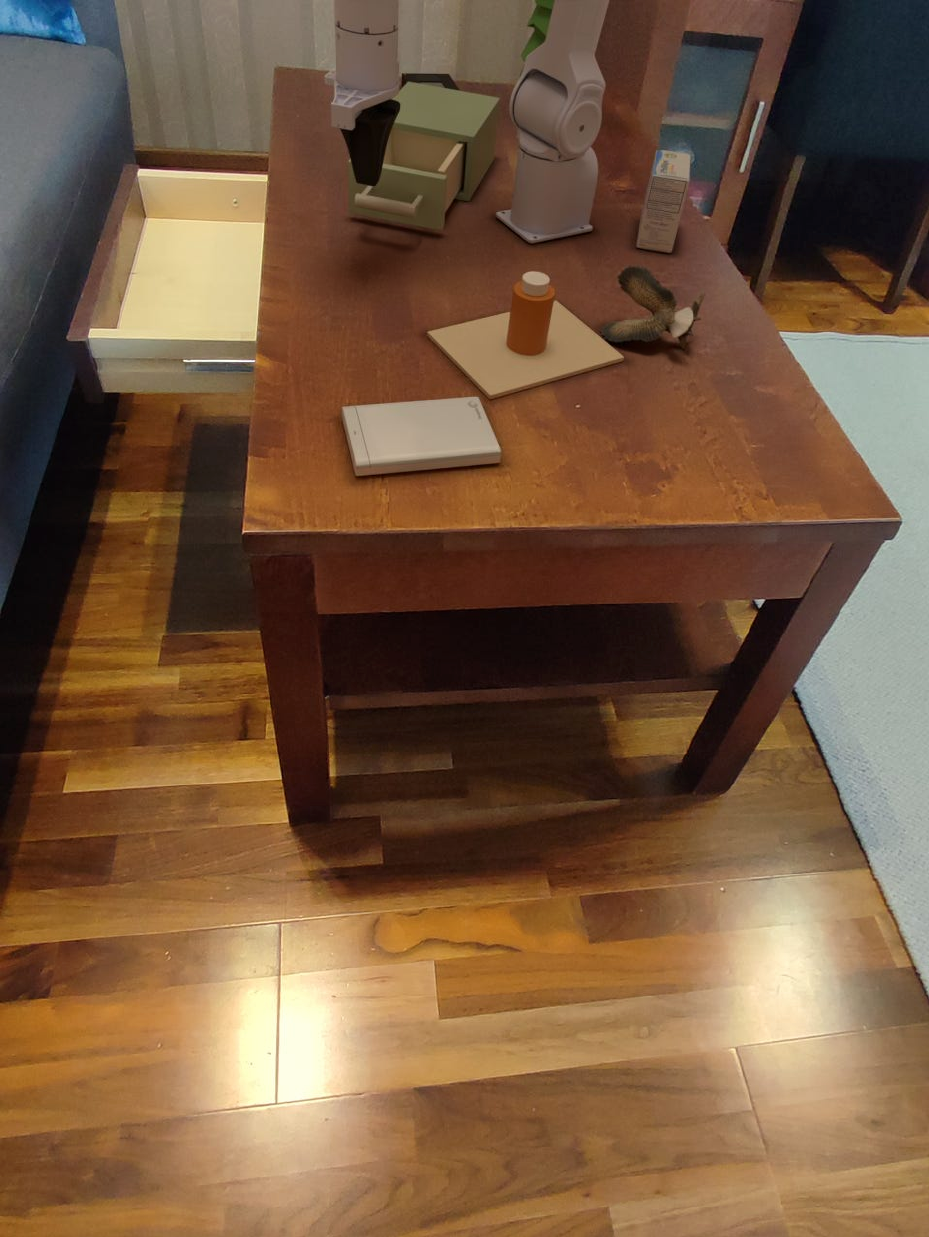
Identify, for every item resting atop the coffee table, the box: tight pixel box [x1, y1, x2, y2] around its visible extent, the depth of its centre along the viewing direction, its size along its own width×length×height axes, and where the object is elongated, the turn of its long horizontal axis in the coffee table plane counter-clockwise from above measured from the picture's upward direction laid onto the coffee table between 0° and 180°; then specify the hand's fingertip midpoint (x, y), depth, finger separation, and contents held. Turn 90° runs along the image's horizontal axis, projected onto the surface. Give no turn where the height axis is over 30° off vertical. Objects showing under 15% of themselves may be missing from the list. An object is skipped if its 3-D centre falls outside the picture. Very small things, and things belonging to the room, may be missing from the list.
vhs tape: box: [400, 72, 461, 91], centre depth 126 cm, size 8×14×2 cm, turn 14°
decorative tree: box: [519, 0, 555, 78], centre depth 115 cm, size 10×9×30 cm
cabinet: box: [392, 82, 501, 202], centre depth 108 cm, size 15×13×8 cm
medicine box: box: [635, 149, 692, 254], centre depth 100 cm, size 8×4×9 cm, turn 168°
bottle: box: [506, 270, 556, 356], centre depth 81 cm, size 4×4×7 cm
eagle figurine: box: [599, 265, 706, 350], centre depth 85 cm, size 8×7×9 cm
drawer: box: [347, 129, 467, 231], centre depth 99 cm, size 18×11×6 cm, turn 166°
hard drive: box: [341, 396, 502, 477], centre depth 72 cm, size 2×8×12 cm
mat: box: [426, 300, 625, 400], centre depth 84 cm, size 16×12×1 cm
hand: (367, 182), depth 85 cm, fingers closed
